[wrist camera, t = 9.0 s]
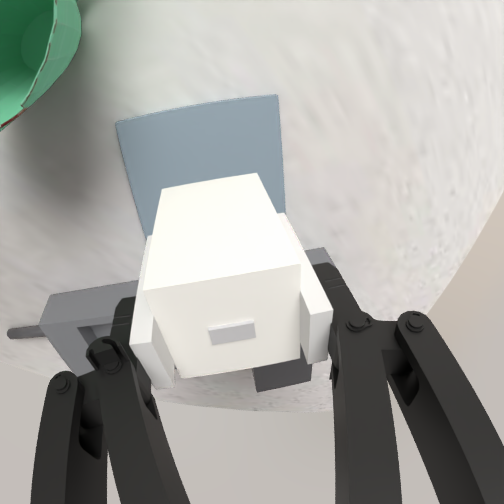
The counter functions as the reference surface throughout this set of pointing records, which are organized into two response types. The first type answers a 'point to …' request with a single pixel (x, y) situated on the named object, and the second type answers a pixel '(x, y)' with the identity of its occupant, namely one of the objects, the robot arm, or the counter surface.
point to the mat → (202, 149)
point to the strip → (100, 322)
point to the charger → (223, 277)
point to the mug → (34, 50)
